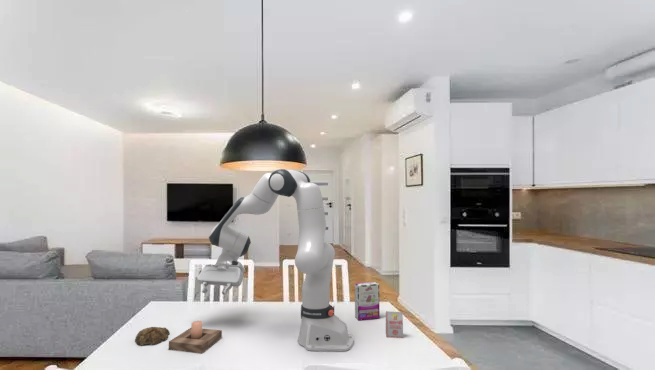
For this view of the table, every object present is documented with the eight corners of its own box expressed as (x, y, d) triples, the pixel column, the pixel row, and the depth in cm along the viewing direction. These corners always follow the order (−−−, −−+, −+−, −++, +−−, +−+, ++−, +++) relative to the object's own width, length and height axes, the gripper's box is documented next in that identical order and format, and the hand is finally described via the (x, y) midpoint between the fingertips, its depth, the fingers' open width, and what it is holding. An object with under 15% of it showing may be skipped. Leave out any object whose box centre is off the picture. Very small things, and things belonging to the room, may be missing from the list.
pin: (204, 341, 133) (204, 321, 133) (198, 346, 129) (198, 325, 129) (195, 340, 134) (195, 320, 134) (188, 345, 130) (189, 324, 130)
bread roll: (137, 335, 139) (137, 323, 139) (170, 331, 143) (170, 320, 143) (131, 349, 127) (132, 335, 127) (167, 344, 131) (168, 331, 131)
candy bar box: (375, 315, 164) (375, 281, 165) (379, 318, 159) (379, 284, 160) (354, 317, 161) (354, 282, 162) (358, 321, 156) (358, 285, 157)
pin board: (221, 337, 137) (221, 330, 137) (202, 353, 123) (202, 345, 123) (191, 334, 139) (191, 327, 140) (168, 349, 126) (168, 341, 126)
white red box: (385, 333, 142) (385, 309, 142) (401, 334, 142) (401, 310, 142) (386, 337, 138) (386, 312, 139) (403, 338, 138) (402, 313, 138)
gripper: (202, 260, 154) (189, 287, 144) (243, 262, 149) (232, 290, 139) (207, 268, 158) (195, 295, 148) (247, 270, 154) (237, 298, 144)
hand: (213, 293), depth 144 cm, fingers open, 8 cm apart
